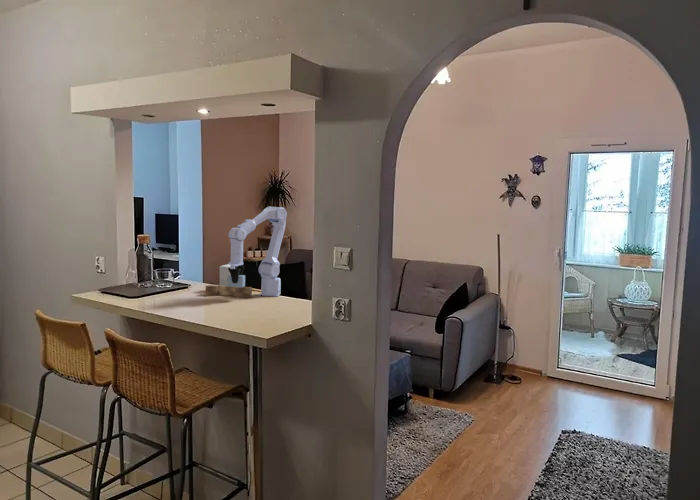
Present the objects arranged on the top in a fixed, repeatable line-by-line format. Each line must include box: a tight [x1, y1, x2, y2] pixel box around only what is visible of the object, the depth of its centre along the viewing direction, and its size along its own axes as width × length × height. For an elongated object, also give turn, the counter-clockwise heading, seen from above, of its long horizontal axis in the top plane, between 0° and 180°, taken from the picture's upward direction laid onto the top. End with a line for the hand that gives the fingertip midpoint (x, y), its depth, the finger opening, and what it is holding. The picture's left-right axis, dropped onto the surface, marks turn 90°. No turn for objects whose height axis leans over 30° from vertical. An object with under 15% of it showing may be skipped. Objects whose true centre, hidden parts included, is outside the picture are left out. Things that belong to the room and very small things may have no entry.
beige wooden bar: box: [205, 284, 253, 298], centre depth 263 cm, size 22×4×4 cm, turn 86°
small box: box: [219, 263, 231, 286], centre depth 276 cm, size 8×6×13 cm
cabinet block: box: [227, 274, 246, 287], centre depth 253 cm, size 8×4×5 cm, turn 86°
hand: (236, 282), depth 253 cm, fingers closed on cabinet block, 4 cm apart
